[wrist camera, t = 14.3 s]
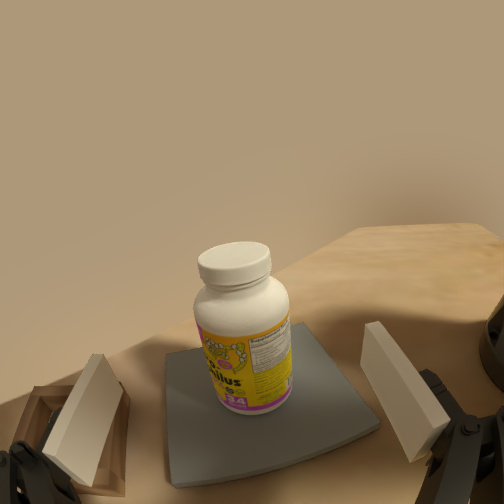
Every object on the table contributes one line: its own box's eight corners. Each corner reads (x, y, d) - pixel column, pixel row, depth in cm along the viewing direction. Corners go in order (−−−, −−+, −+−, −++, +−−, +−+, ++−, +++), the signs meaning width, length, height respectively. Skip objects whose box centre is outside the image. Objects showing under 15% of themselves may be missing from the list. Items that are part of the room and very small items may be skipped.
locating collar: (130, 398, 23) (120, 381, 22) (124, 497, 12) (108, 485, 11) (45, 401, 20) (34, 386, 20) (22, 480, 10) (5, 466, 9)
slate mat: (303, 328, 31) (303, 322, 31) (378, 428, 17) (380, 421, 16) (168, 360, 28) (165, 354, 28) (176, 488, 14) (171, 483, 13)
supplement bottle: (205, 383, 23) (169, 254, 19) (264, 355, 26) (249, 231, 22) (242, 431, 18) (206, 286, 13) (308, 392, 21) (307, 250, 17)
